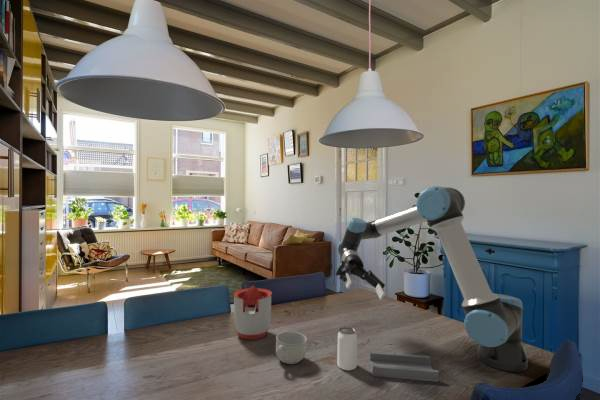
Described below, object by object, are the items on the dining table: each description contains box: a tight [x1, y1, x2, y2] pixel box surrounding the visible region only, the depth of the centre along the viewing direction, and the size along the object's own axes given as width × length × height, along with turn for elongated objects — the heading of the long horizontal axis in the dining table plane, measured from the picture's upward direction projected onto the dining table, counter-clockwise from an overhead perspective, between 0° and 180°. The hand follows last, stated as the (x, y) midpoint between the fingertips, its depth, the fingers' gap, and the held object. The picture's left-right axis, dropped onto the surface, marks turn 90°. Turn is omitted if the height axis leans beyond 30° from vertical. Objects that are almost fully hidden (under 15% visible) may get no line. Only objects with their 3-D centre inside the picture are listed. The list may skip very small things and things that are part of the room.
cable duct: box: [369, 351, 440, 383], centre depth 108 cm, size 20×10×3 cm, turn 83°
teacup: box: [275, 331, 308, 365], centre depth 113 cm, size 14×11×8 cm
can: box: [336, 326, 358, 372], centre depth 110 cm, size 6×6×12 cm
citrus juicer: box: [233, 285, 273, 340], centre depth 134 cm, size 16×17×20 cm
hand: (366, 291), depth 118 cm, fingers open, 13 cm apart
